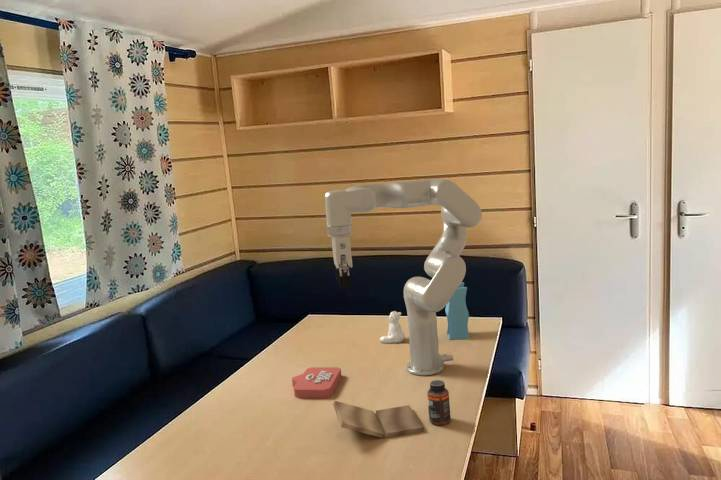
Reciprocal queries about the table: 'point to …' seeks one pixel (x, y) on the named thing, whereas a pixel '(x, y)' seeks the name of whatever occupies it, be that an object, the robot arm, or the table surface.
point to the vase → (457, 315)
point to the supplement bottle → (438, 403)
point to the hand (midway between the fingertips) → (343, 284)
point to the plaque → (316, 382)
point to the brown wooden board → (398, 421)
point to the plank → (358, 419)
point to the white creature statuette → (393, 329)
